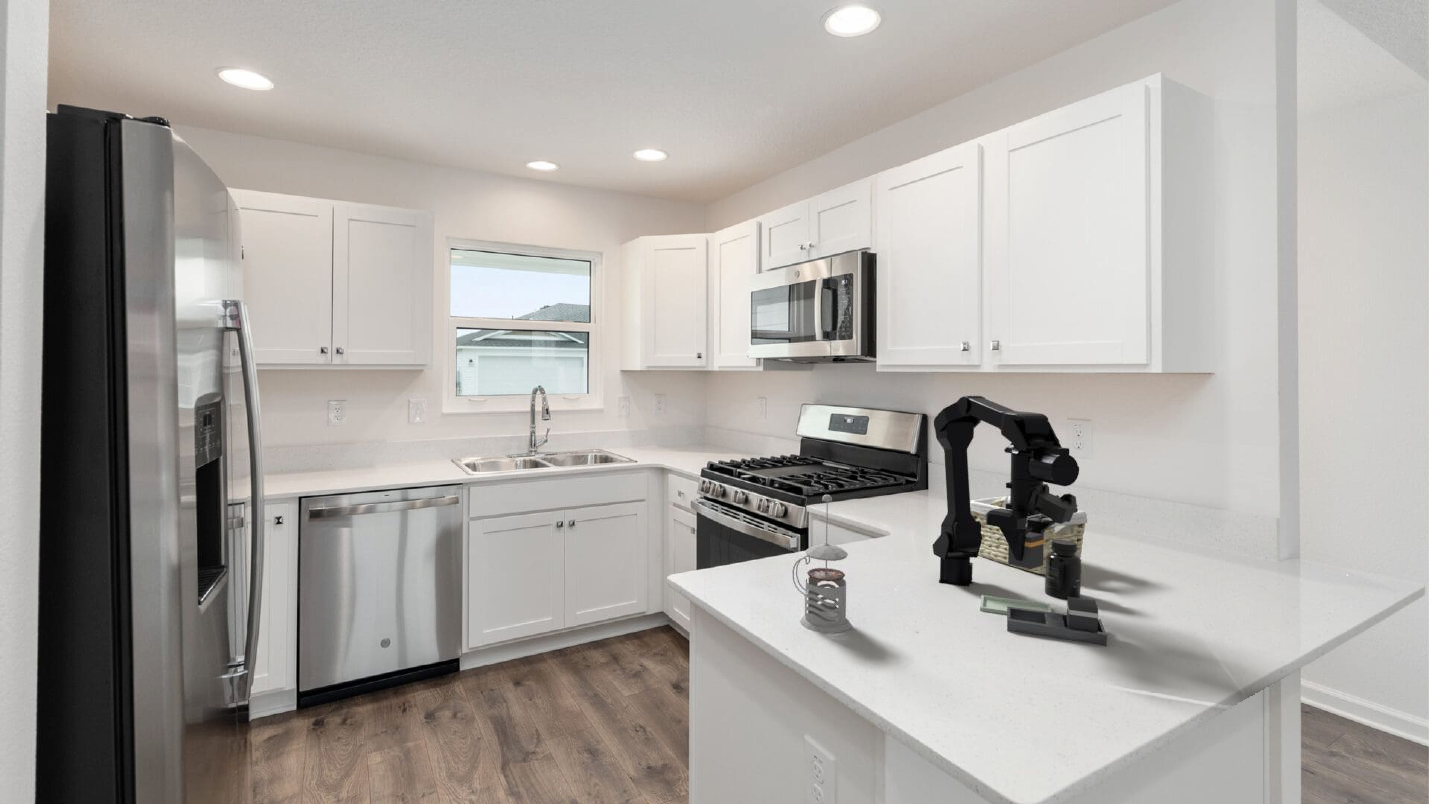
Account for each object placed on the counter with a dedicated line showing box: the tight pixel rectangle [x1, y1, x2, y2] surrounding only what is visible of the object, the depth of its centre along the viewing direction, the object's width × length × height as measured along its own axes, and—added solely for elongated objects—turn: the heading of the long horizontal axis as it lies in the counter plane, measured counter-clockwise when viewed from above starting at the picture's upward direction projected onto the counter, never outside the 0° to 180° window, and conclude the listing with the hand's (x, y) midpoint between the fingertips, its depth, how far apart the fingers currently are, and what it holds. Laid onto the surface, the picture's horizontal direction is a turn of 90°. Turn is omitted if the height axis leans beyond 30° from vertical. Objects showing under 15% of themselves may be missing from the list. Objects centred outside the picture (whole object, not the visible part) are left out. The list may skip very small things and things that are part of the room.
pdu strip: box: [1006, 606, 1108, 647], centre depth 122 cm, size 16×8×2 cm, turn 66°
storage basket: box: [970, 495, 1088, 575], centre depth 168 cm, size 24×16×15 cm
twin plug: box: [1066, 597, 1099, 632], centre depth 120 cm, size 5×5×6 cm
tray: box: [979, 594, 1052, 616], centre depth 133 cm, size 13×8×1 cm, turn 66°
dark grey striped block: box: [1007, 532, 1044, 569], centre depth 127 cm, size 5×5×6 cm
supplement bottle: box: [1044, 540, 1082, 601], centre depth 142 cm, size 7×7×12 cm
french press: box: [791, 494, 852, 634], centre depth 126 cm, size 10×12×25 cm
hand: (1025, 558), depth 127 cm, fingers closed on dark grey striped block, 4 cm apart
